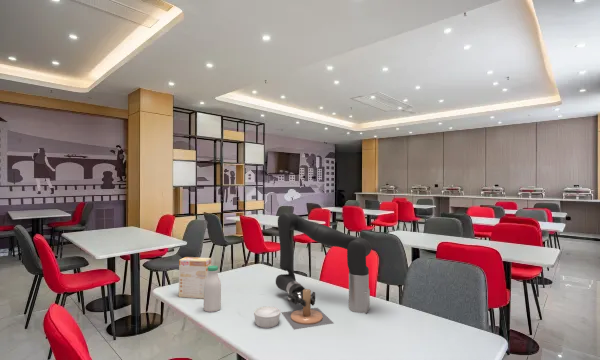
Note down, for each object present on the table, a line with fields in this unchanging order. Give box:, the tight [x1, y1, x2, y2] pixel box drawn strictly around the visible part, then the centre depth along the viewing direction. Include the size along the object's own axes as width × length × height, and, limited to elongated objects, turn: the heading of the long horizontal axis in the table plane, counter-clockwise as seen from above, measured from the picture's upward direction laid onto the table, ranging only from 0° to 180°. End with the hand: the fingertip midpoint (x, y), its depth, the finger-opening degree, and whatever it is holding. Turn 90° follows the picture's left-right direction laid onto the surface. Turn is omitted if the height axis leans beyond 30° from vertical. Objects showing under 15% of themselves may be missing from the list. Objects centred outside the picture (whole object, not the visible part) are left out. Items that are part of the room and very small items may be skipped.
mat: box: [280, 307, 334, 331], centre depth 141 cm, size 18×18×1 cm
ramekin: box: [253, 306, 281, 329], centre depth 136 cm, size 11×11×5 cm
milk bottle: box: [203, 265, 222, 313], centre depth 151 cm, size 8×8×20 cm
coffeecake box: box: [178, 256, 212, 300], centre depth 168 cm, size 15×7×20 cm, turn 80°
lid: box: [291, 288, 323, 325], centre depth 141 cm, size 14×14×12 cm
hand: (309, 303), depth 139 cm, fingers closed on lid, 3 cm apart
